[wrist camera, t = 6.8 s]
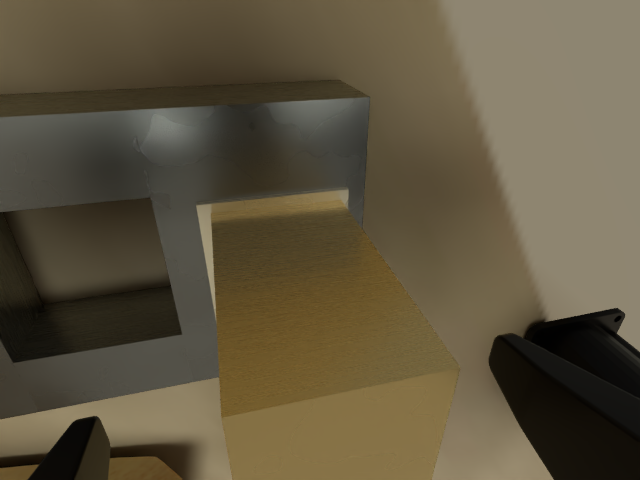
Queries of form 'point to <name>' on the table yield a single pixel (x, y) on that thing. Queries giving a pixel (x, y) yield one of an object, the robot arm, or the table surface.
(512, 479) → the table surface
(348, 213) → the wooden square beam
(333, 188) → the rail plate
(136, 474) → the knife block
